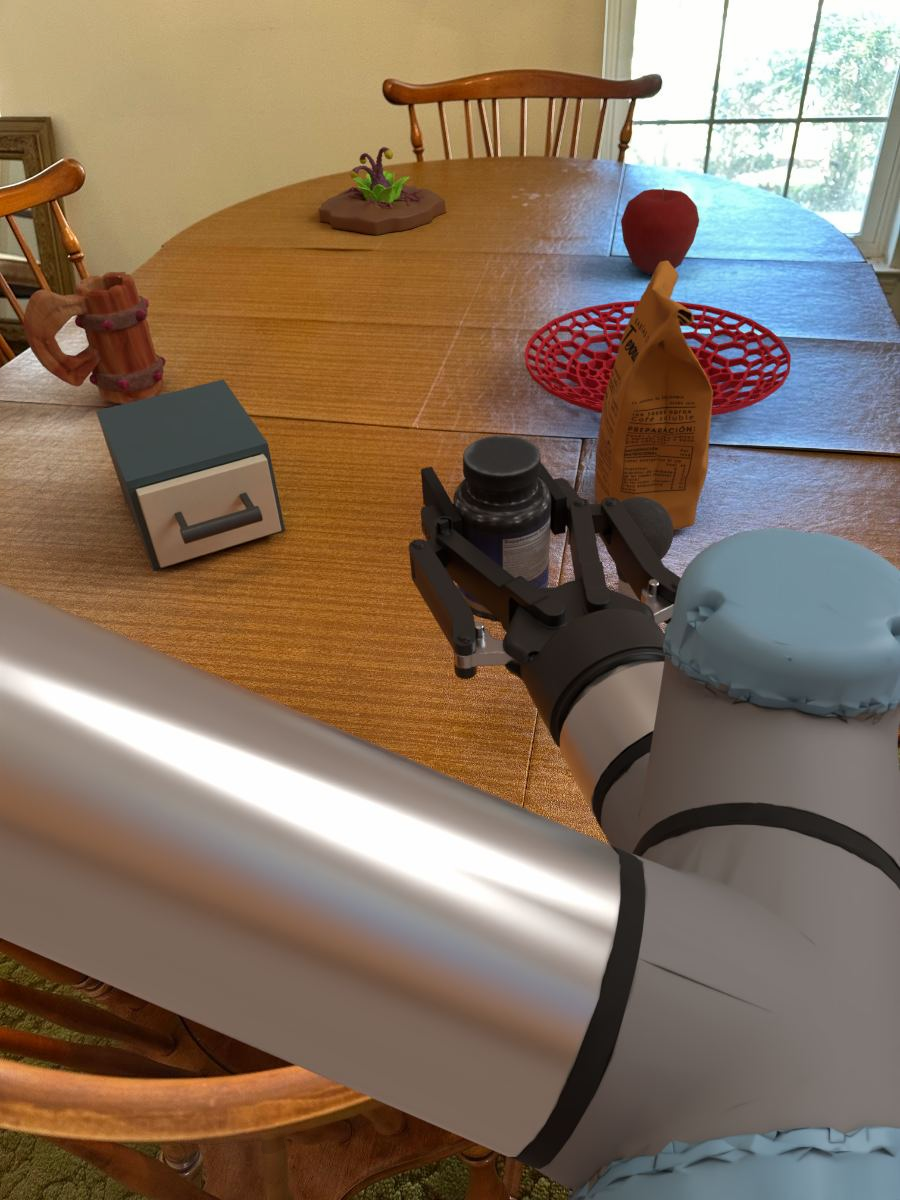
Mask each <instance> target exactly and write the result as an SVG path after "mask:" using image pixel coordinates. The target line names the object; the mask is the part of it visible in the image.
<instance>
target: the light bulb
mask: <svg viewBox="0 0 900 1200" xmlns="http://www.w3.org/2000/svg"><path fill="white" fill-rule="evenodd" d="M621 503H622V504H623V506H624V507H625V509H626V510H627V512H628V513H629V515H630V516H631V518H632V519H633V521H634V522H635V524H636V525H637V527H638V528H639V529H640V531H641V532H642V534H643V535H644V537H645V538H646V540H647V541H648V543H649V544H650V546H651V547H652V549H653V550H654V552H655V553H656V554H657V556H658V557H659V559H660V560H661V561H662V560H663V558H664V557H665V556H666V555H667V554H668V552H669V551H670V548H671V547H672V543H673V540H674V537H675V536H674V535H675V534H674V533H675V532H674V530H673V523H672V520H671V517H670V515H669V513H668V512H667V511H666V509H665V508H664V507H663V506H662V505H661V504H659V503H658V502H656V501H654V500H652V499H650V498H645V497H632V498H628V499H626V500H624V501H622V502H621ZM605 549H606V551H607V554H609V557H610V558H611V559H612V561H613V563H614V565H615V569H616V575H617V578H618V579H617V592H618V593H620V594H623V595H625V596H628V597H630V598H633V599H635V600H638V601H639V599H638V598H637V596H636V595H635V593H634V591H633V590H632V588H631V587H630V585H629V583H628V582H627V580H626V578H625V577H624V575H623V574H622V572H621V570H620V569H619V567H618V565H617V564H616V562H615V561H614V559H613V557H612V556H611V554H610V552H609V551H608V549H607V548H606V547H605Z"/></svg>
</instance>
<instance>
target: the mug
mask: <svg viewBox="0 0 900 1200" xmlns="http://www.w3.org/2000/svg"><path fill="white" fill-rule="evenodd" d="M137 289H138V288H137V286H136V284H135V279H134V278H133V277H132V275H131V274H130V273H127V274H126V271H119V272H118V271H108V272H105V274H103V275H101V276H100V275H90V276H88V277H85V278H83V279H82V280H80V282H79V283H78V284H76V286H75V293H72V294H66V295H62V294H58V293H56V292H52V291H51V290H48V289H39V290H36V291H35V292H34V293H33V294H31V295H30V297H29V299H28V302H27V304H26V307H25V310H24V314H23V332H24V336H25V339H26V341H27V344H28V345H29V347H30V349H31V352H32V353H33V355H34V357H35V358H36V359H37V360H38V362H39V363H40V365H41V366H42V367H43V368H44V369H46V371H48V372H49V373H50V374H52V375H53V376H55V377H56V378H58V379H59V380H61V381H63V382H65V383H66V384H69V385H71V386H74V387H80V386H82V385H83V384H84V382H85V381H86V379H87V378H88V377H89V382H90V383H91V384H92V385H93V386H96V387H97V388H98V389H97V390H98V394H99V396H100V398H101V399H103V400H105V401H108V402H111V403H114V404H118V405H122V404H126V403H130V402H134V401H138V400H142V399H146V398H150V397H154V396H158V394H159V393H160V391H161V390H162V389H163V387H164V380H163V377H164V373H165V372H164V366H165V365H166V361H167V360H166V359H165V357H163V356H159V355H158V354H157V353H156V350H155V346H154V343H153V339H152V336H151V335H152V334H151V330H150V325H149V323H148V320H147V317H148V315H149V314H148V308H149V306H150V303H149V299H147V298H145V297H143V296H142V295H139V292H138V290H137ZM72 317H75V319H74V324H75V325H76V327H78V328H80V329H83V330H84V333H85V337H86V340H87V344H88V345H87V347H86V348H84V349H83V350H82V351H80V352H78V353H77V354H75V355H73V354H66V353H65V352H63V350H62V348H61V347H60V345H59V343H58V341H57V340H56V335H57V334H58V333H59V332H60V331H61V330H62V329H63V328H64V327H65V325H66V324H67V323H68V322H69V320H71V318H72ZM89 375H90V376H89Z"/></svg>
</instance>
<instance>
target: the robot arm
mask: <svg viewBox="0 0 900 1200" xmlns="http://www.w3.org/2000/svg"><path fill="white" fill-rule="evenodd" d="M420 475H421V477H420V478H421V490H422V503H423V505H424V506H423V507H421V508H420V523H421V532H422V533H423V535H424V538H425V539H422V538H418V539H413V540H411V541H410V542H409V543H408V553H409V565H410V575H411V580H412V582H413V584H414V586H415V587H416V589H417V590H418V592H419V594H420V596H421V597H422V599H423V601H424V602H425V604H426V606H427V608H428V609H429V611H430V613H431V614H432V616H433V618H434V620H435V621H436V623H437V624H438V626H439V628H440V630H441V631H442V633H443V636H444V637H445V638H446V640H447V642H448V643H449V644H450V647H451V649H452V650H453V651H452V652H453V667H454V674H455V676H456V677H457V678H459V679H462V680H468V679H472V678H474V677H475V676H476V675H477V673H478V667H492V666H493V667H494V666H504V668H505V669H506V670H507V671H508V672H509V673H510V674H512V675H514V676H516V677H517V678H518V679H520V680H521V681H522V683H523V684H524V685H525V689H526V690H527V692H528V694H529V696H530V699H531V700H532V703H533V704H534V706H535V708H536V710H537V712H538V714H539V716H540V717H541V719H542V722H543V723H544V726H545V727H546V729H547V731H548V732H549V734H550V737H551V739H552V740H553V742H554V743H555V745H556V746H557V748H559V750H560V753H561V755H562V757H563V759H564V762H565V763H566V765H567V768H568V769H569V771H570V773H571V775H572V777H573V779H574V781H575V783H576V785H577V786H578V789H580V792H581V794H582V796H583V798H584V800H585V801H586V804H587V806H588V808H589V809H590V811H591V813H592V815H593V816H594V818H595V821H596V823H597V824H598V826H599V828H600V830H601V831H602V833H603V834H604V836H605V838H606V840H607V842H608V843H607V842H604V841H602V840H600V839H598V838H595V837H593V836H591V835H588V834H586V833H583V832H581V831H579V830H576V829H575V828H571V827H570V826H567V825H564V824H562V823H561V822H558V821H555V820H553V819H551V818H549V817H547V816H543V815H542V814H539V813H537V812H534V811H532V810H530V809H528V808H526V807H523V806H521V805H518V804H516V803H514V802H511V801H509V800H506V799H504V798H502V797H501V796H497V795H496V794H493V793H490V792H488V791H486V790H483V789H481V788H478V787H476V786H475V785H472V784H469V783H467V782H464V781H462V780H460V779H458V778H456V777H454V776H451V775H448V774H446V773H444V772H441V771H439V770H437V769H435V768H432V767H430V766H427V765H425V764H423V763H421V762H418V761H416V760H414V759H412V758H409V757H407V756H404V755H402V754H399V753H398V752H395V751H394V750H390V749H388V748H385V747H383V746H381V745H378V744H376V743H375V742H371V741H370V740H367V739H365V738H363V737H360V736H358V735H355V734H354V733H350V732H348V731H346V730H344V729H341V728H339V727H337V726H334V725H333V724H329V723H328V722H325V721H323V720H320V719H318V718H317V717H314V716H311V715H309V714H307V713H305V712H302V711H299V710H297V709H295V708H292V707H290V706H288V705H285V704H283V703H281V702H279V701H276V700H274V699H271V698H269V697H267V696H265V695H262V694H260V693H258V692H255V691H253V690H250V689H249V688H246V687H243V686H241V685H239V684H237V683H234V682H232V681H229V680H228V679H225V678H223V677H220V676H218V675H216V674H214V673H212V672H209V671H207V670H204V669H202V668H200V667H198V666H195V665H193V664H190V663H189V662H185V661H183V660H181V659H179V658H176V657H175V656H172V655H170V654H167V653H165V652H162V651H160V650H158V649H155V648H153V647H152V646H148V645H146V644H145V643H141V642H140V641H138V640H137V641H136V640H134V639H132V638H130V637H127V636H125V635H123V634H121V633H118V632H116V631H114V630H111V629H109V628H107V627H105V626H102V625H100V624H97V623H95V622H93V621H90V620H87V619H86V618H83V617H81V616H78V615H76V614H74V613H72V612H69V611H67V610H65V609H62V608H60V607H58V606H55V605H53V604H50V603H49V602H46V601H44V600H42V599H39V598H37V597H34V596H32V595H30V594H28V593H25V592H23V591H21V590H18V589H15V588H13V587H11V586H9V585H6V584H4V583H2V582H0V939H2V940H3V941H4V940H5V941H6V942H9V943H12V944H14V945H16V946H19V947H20V948H23V949H26V950H28V951H30V952H32V953H35V954H37V955H39V956H42V957H44V958H46V959H49V960H51V961H54V962H55V963H58V964H60V965H62V966H65V967H68V968H70V969H72V970H74V971H77V972H79V973H81V974H83V975H85V976H88V977H90V978H92V979H95V980H98V981H99V982H102V983H104V984H106V985H109V986H112V987H114V988H116V989H118V990H120V991H123V992H125V993H127V994H129V995H132V996H134V997H137V998H138V999H141V1000H143V1001H146V1002H149V1003H151V1004H153V1005H155V1006H157V1007H160V1008H162V1009H164V1010H167V1011H169V1012H172V1013H174V1014H176V1015H179V1016H180V1017H183V1018H186V1019H188V1020H190V1021H192V1022H195V1023H197V1024H199V1025H202V1026H204V1027H206V1028H209V1029H211V1030H213V1031H216V1032H218V1033H219V1034H222V1035H225V1036H227V1037H230V1038H232V1039H233V1040H236V1041H238V1042H241V1043H244V1044H246V1045H248V1046H251V1047H253V1048H255V1049H258V1050H259V1051H262V1052H263V1053H267V1054H269V1055H271V1056H274V1057H275V1058H279V1059H280V1060H283V1061H285V1062H287V1063H289V1064H292V1065H294V1066H297V1067H299V1068H301V1069H304V1070H305V1071H309V1072H311V1073H313V1074H315V1075H317V1076H320V1077H323V1078H325V1079H327V1080H330V1081H331V1082H333V1083H336V1084H338V1085H341V1086H343V1087H346V1088H348V1089H350V1090H352V1091H354V1092H356V1093H359V1094H361V1095H364V1096H367V1098H368V1097H369V1098H370V1099H371V1098H372V1099H373V1100H375V1101H378V1102H380V1103H382V1104H384V1105H387V1106H390V1107H392V1108H394V1109H396V1110H399V1111H401V1112H403V1113H406V1114H407V1115H411V1116H412V1117H415V1118H417V1119H420V1120H422V1121H425V1122H426V1123H429V1124H431V1125H433V1126H436V1127H438V1128H441V1129H442V1130H445V1131H448V1132H449V1133H452V1134H454V1135H457V1136H459V1137H462V1138H464V1139H466V1140H468V1141H471V1142H473V1143H475V1144H478V1145H479V1146H482V1147H485V1148H487V1149H489V1150H492V1151H493V1152H496V1153H499V1154H501V1155H503V1156H506V1157H508V1158H510V1159H512V1160H514V1161H516V1162H519V1163H521V1164H523V1165H526V1166H528V1167H529V1168H533V1169H534V1170H536V1171H537V1172H539V1173H541V1174H542V1175H544V1176H546V1177H548V1178H549V1179H551V1180H552V1181H554V1182H555V1183H557V1184H559V1185H561V1186H562V1187H563V1188H565V1189H567V1190H568V1195H567V1197H568V1198H567V1200H900V758H899V745H898V744H899V731H900V730H899V729H900V569H899V568H897V567H896V566H895V565H894V564H893V563H891V562H890V561H888V560H887V559H885V557H883V556H881V555H880V554H878V553H876V552H874V551H873V550H871V549H869V548H867V547H865V546H862V545H860V544H858V543H856V542H853V541H851V540H848V539H846V538H843V537H840V536H836V535H834V534H828V533H825V532H820V531H819V532H809V531H802V530H794V529H790V528H787V527H771V528H769V527H768V528H760V529H753V530H746V531H742V532H739V533H736V534H733V535H729V536H727V537H725V538H722V539H720V540H718V541H716V542H713V543H711V544H710V545H708V546H707V547H704V549H702V550H701V551H700V552H698V553H697V554H696V555H695V557H694V558H693V559H692V560H691V561H690V562H689V563H688V564H687V566H686V567H685V569H684V571H683V573H682V575H681V577H680V576H679V575H677V573H675V572H673V571H671V570H670V569H669V568H667V567H666V566H665V565H664V563H663V562H662V560H660V559H659V557H658V556H657V554H656V553H655V552H654V550H653V549H652V547H651V546H650V544H649V543H648V541H647V540H646V538H645V537H644V535H643V534H642V532H641V531H640V529H639V528H638V527H637V525H636V524H635V522H634V521H633V519H632V518H631V516H630V515H629V513H628V512H627V510H626V509H625V507H624V506H623V504H622V503H621V502H620V500H618V499H617V498H613V497H607V498H604V499H603V500H602V501H601V504H597V503H590V501H589V500H588V499H586V498H584V497H581V496H580V495H579V494H578V492H577V491H576V489H574V487H573V485H571V483H570V482H569V480H567V479H565V478H564V477H557V478H553V476H552V474H550V473H549V471H548V470H547V469H546V467H545V466H544V464H543V463H542V462H541V472H540V474H539V476H538V477H539V478H540V479H541V480H542V481H543V482H544V483H545V484H546V486H547V487H548V490H549V492H550V495H551V521H550V532H552V534H553V535H554V536H558V535H563V534H566V531H567V530H566V529H568V534H567V545H568V546H569V549H570V555H571V563H572V569H573V577H574V580H569V581H566V582H564V583H562V584H560V585H558V586H552V587H551V586H550V587H548V588H539V589H538V588H536V587H535V586H534V585H533V584H531V583H530V582H529V581H527V580H526V579H525V578H524V577H522V576H518V577H516V578H515V577H513V576H512V575H511V574H509V573H508V572H507V571H506V570H504V569H503V568H502V567H501V566H499V565H498V564H497V563H496V562H494V561H493V560H492V559H490V558H489V557H488V556H487V555H485V554H484V553H483V552H482V551H480V550H479V549H478V548H477V547H475V546H474V545H473V544H471V543H470V542H469V541H468V540H466V539H465V538H464V537H463V530H462V519H461V517H460V515H459V514H458V512H457V510H456V508H455V507H454V505H453V500H451V498H450V496H449V494H448V493H447V490H446V489H445V487H444V485H443V484H442V482H441V480H440V478H439V477H438V475H437V473H436V471H435V470H434V467H433V466H429V467H424V468H423V467H422V468H420ZM597 534H598V536H599V538H600V540H601V541H602V543H603V544H604V547H605V549H606V548H607V549H608V551H609V552H610V554H611V556H612V557H613V559H614V561H615V562H616V564H617V565H618V567H619V569H620V570H621V572H622V574H623V575H624V577H625V578H626V580H627V582H628V583H629V585H630V587H631V588H632V590H633V591H634V593H635V595H636V596H637V598H638V599H639V601H638V600H635V599H633V598H630V597H628V596H625V595H623V594H620V593H618V591H616V590H613V589H610V588H608V586H607V581H606V576H605V570H604V566H603V561H601V559H600V552H599V548H598V543H597V536H596V535H597ZM607 549H606V550H607ZM608 551H607V552H608ZM611 556H610V557H611ZM613 559H612V560H613ZM614 561H613V562H614ZM457 584H458V585H459V586H460V587H461V588H462V589H464V590H465V591H466V592H467V593H468V594H470V595H471V596H472V597H473V598H474V599H475V600H477V601H478V602H479V603H480V604H481V605H482V606H484V607H485V608H486V609H487V610H488V611H489V612H491V613H492V614H493V615H494V616H495V617H497V618H498V619H499V620H500V622H499V623H500V624H501V627H502V629H503V631H504V632H505V634H504V637H503V639H497V638H495V637H493V636H492V634H491V632H490V630H488V629H487V628H485V623H484V622H483V621H479V620H477V621H475V615H473V613H472V610H471V608H470V607H469V605H468V603H467V602H466V600H465V599H464V597H463V596H462V594H461V593H460V591H459V589H458V588H457ZM663 623H664V624H666V626H665V627H664V629H663V630H662V628H661V627H660V625H659V624H663Z"/></svg>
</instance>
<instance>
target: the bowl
mask: <svg viewBox="0 0 900 1200" xmlns="http://www.w3.org/2000/svg"><path fill="white" fill-rule="evenodd" d="M639 302H640V300H629V301H615V302H610V303H603V304H599V305H593V306H588V307H584V308H580V309H577V310H573V311H570V312H568V313H565V314H563V315H560V316H558V317H556V318H553V319H552V320H551V319H550V321H549V322H547V323H546V324H545V325H543V326H541V327H540V328H539V329H538V330H536V331H535V332H534V334H533V335H532V336H531V337H530V338H529V339H528V341H527V344H526V347H525V350H524V362H525V368H526V370H527V372H528V373H529V375H530V377H531V379H532V380H533V381H534V382H535V383H536V384H538V385H539V386H540V387H541V388H542V389H544V390H545V391H546V392H547V393H548V394H550V395H552V396H554V397H556V398H558V399H560V400H562V401H564V402H565V403H569V404H571V405H572V406H573V405H574V406H577V407H579V408H583V409H586V410H589V411H593V412H596V413H600V414H602V406H603V400H604V396H605V393H606V390H607V386H608V383H609V380H610V377H611V374H612V371H613V368H614V365H615V361H616V357H617V355H618V351H619V345H620V343H619V344H618V343H613V342H612V341H614V340H615V341H616V340H619V341H621V340H622V337H623V334H624V331H625V329H626V327H627V324H628V323H621V322H622V321H624V320H625V319H626V320H628V319H629V320H630V318H631V317H632V315H633V313H634V312H635V310H636V308H637V306H638V304H639ZM677 302H678V303H679V304H681V305H682V306H684V307H686V308H687V309H689V310H690V311H691V310H692V311H699V312H702V314H692V315H693V318H694V321H693V323H691V324H688V325H686V324H682V323H680V327H690V328H691V329H693V331H684V332H682V333H683V336H684V338H685V340H695V341H696V342H698V343H699V344H701V345H700V346H699V347H698V346H690V345H689V347H690V348H691V350H692V351H693V353H694V355H695V356H696V358H697V360H698V361H699V363H700V365H701V367H702V368H703V370H704V372H705V374H706V376H707V378H708V380H709V382H710V385H711V387H712V390H713V396H712V412H711V417H713V416H718V415H723V414H728V413H733V412H735V411H739V410H743V409H745V408H748V407H751V406H753V405H756V404H758V403H760V402H762V401H764V400H765V399H766V398H768V397H770V395H772V394H773V393H775V392H777V391H778V390H779V389H780V388H781V387H782V386H783V385H784V384H785V382H786V380H787V378H788V376H789V375H790V372H791V361H792V359H791V358H792V354H791V353H790V352H789V350H788V348H787V346H786V345H785V343H784V342H783V340H782V339H781V338H780V337H779V336H778V335H776V334H775V333H774V332H773V331H772V330H770V329H769V328H767V327H765V326H764V325H762V324H760V323H759V322H757V321H755V320H753V319H752V318H749V317H746V316H744V315H741V314H739V313H735V312H732V311H731V310H727V309H723V308H718V307H714V306H709V305H705V304H699V303H691V302H684V301H677ZM625 308H626V309H627V308H633V312H626V311H624V309H625ZM608 310H609V311H608ZM706 313H707V314H708V313H709V314H712V315H716V316H717V317H715V316H711V315H709V314H708V315H707V314H706ZM590 314H594V315H596V316H597V317H592V316H591V315H590ZM614 314H620V315H619V316H613V315H614ZM580 316H582V317H583V318H584V319H585V320H586V321H584V322H583V321H579V320H577V317H580ZM725 318H728V319H730V320H733V321H736V323H727V322H725V321H723V320H724V319H725ZM568 320H571V323H570V324H569V325H561V323H563V322H566V321H568ZM697 321H698V322H697ZM744 325H747V326H749V327H751V329H750V330H749V331H746V332H743V331H741V330H740V328H741V327H742V326H744ZM554 326H555V328H554V330H553V327H554ZM590 326H595V327H596V328H599V329H600V330H602V332H603V334H597V335H592V336H590V335H589V334H588V333H587V332H585V328H588V327H590ZM716 326H718V327H719V329H716V328H715V327H716ZM576 327H578V328H580V329H581V330H577V331H575V330H574V329H575V328H576ZM698 330H709V331H710V334H709V335H708V336H707V337H706V336H705V335H703V334H700V333H699V332H698ZM755 330H756V331H758V332H759V333H760V334H757V332H755ZM608 331H609V332H608ZM547 332H549V334H548V335H547V336H546V337H544V336H542V335H544V334H545V333H547ZM558 333H569V334H570V335H571V338H570V339H568V340H560V339H559V338H558V337H557V335H558ZM720 336H724V337H725V336H726V337H729V338H731V339H732V340H731V341H727V342H723V343H717V342H715V341H714V338H715V337H720ZM578 338H582V339H583V340H584V342H583V343H582V344H579V342H577V341H575V340H576V339H578ZM766 338H769V339H770V340H771V341H772V342H773V343H774V344H772V345H770V346H769V345H767V344H764V343H763V341H762V340H765V339H766ZM537 340H538V341H540V344H539V345H538V346H537V345H536V344H535V342H536V341H537ZM552 341H553V342H554V343H553V344H551V342H552ZM741 341H743V342H741ZM599 343H605V344H606V346H607V349H606V350H597V351H596V350H595V351H594V350H592V349H590V348H589V347H590V346H591V345H592V344H599ZM753 343H756V344H757V345H758V347H755V348H747V346H748V344H753ZM545 348H547V349H546V350H544V349H545ZM564 348H565V349H566V348H573V349H574V350H575V351H574V352H573V353H570V352H568V350H565V349H564ZM707 348H708V349H710V350H708V349H707ZM778 348H779V350H780V351H781V353H782V354H779V355H777V356H776V355H774V354H772V353H771V352H773V351H775V350H776V349H778ZM730 349H738V350H742V351H743V355H742V356H741V357H735V358H727V357H724V356H723V355H720V354H719V352H723V351H726V350H730ZM530 350H533V351H535V352H536V353H535V355H534V354H531V353H530ZM614 354H616V355H614ZM582 355H583V356H585V357H586V358H588V359H590V360H589V361H587V362H584V361H583V362H581V361H579V360H578V359H579V358H580V357H581V356H582ZM755 355H757V356H759V358H756V359H754V360H751V361H750V360H748V359H747V358H748V357H751V356H755ZM540 356H543V357H540ZM560 356H562V357H563V358H565V359H566V360H567V363H566V362H564V361H561V360H559V359H558V358H557V357H560ZM549 359H551V360H552V361H550V360H549ZM529 360H531V361H533V362H535V364H532V363H529ZM540 364H541V365H544V367H542V366H540ZM713 364H716V365H718V366H720V367H718V366H715V365H713ZM759 365H760V366H759ZM770 365H775V366H774V368H773V369H771V370H768V371H764V369H766V368H767V367H769V366H770ZM785 365H786V369H785V370H783V371H781V372H779V373H777V371H779V369H780V367H783V366H785ZM736 366H737V367H738V366H742V367H745V370H743V371H735V372H733V370H731V368H732V367H736ZM757 366H759V367H757ZM755 367H757V368H756V369H753V368H755ZM555 368H558V369H561V370H563V371H557V370H555ZM535 372H536V373H537V374H535ZM755 376H757V377H758V378H756V379H755V378H754V379H748V378H751V377H755ZM563 380H568V381H570V382H572V383H574V384H576V385H577V386H570V385H569V384H568V383H566V382H564V381H563ZM751 387H752V388H751ZM743 388H751V389H750V390H745V391H741V390H742V389H743Z"/></svg>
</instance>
